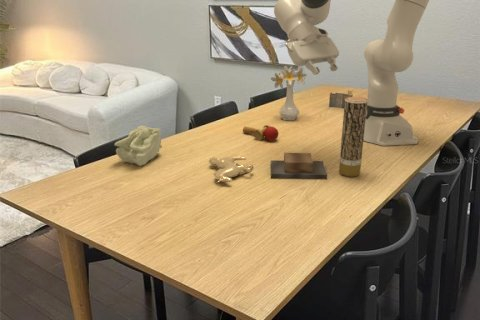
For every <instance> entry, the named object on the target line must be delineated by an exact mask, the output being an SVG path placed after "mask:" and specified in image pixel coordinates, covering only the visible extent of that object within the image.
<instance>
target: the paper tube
mask: <svg viewBox="0 0 480 320" xmlns="http://www.w3.org/2000/svg"><path fill="white" fill-rule="evenodd" d="M367 100H368V98H366V97H360V96H353V97H347V98H345V104H344V108H343V117H342V118H343V119H342V131H341V141H340V153H339V169H338V172H339V173H340V175H342V176H345V177H357V176H359V175H360V174H361V166H362V158H363V151H364V150H363V149H364V130H365V121H366V111H367Z"/></svg>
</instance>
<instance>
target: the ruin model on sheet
mask: <svg viewBox="0 0 480 320" xmlns="http://www.w3.org/2000/svg"><path fill="white" fill-rule="evenodd" d="M353 95H354V94H353V90H347V93H341V92H335V93H333V92H330V93H329V102H328V103H329V104H328V107H329V108H338V109H344V104H345V98H347V97H354V96H353Z"/></svg>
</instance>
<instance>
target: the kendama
mask: <svg viewBox="0 0 480 320" xmlns="http://www.w3.org/2000/svg"><path fill="white" fill-rule="evenodd" d="M242 133H243V134H252V135H253V136H254V138H255V139H256V140H257V141H262V140H263V139H265V140H266V141H268V142H274V141H276V140H277V139H278V137H279V130H278V129H277V128H276V127H275V126H270V124H265V125H264V126H263V127H262V129H260V128H253V127H249V126H244V127H243V128H242Z"/></svg>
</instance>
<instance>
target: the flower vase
mask: <svg viewBox="0 0 480 320" xmlns="http://www.w3.org/2000/svg"><path fill="white" fill-rule="evenodd" d="M274 76H275V77H274ZM274 76H273V77H270V79H271V81H272V82H275V83H274V88H275V89H277V88H280V89H283V88H284V85H283V82H284V81H285V83H286V98H285V102H284V104H283V106H282V107H281V108H280V109H279V115H280V116H281V117H282V120H283V121H295V120H296V117H298V115H299V114H300V111H299V108H298V107H297V106H296V104H295V101H294V85H295V83H296V82H297V84H298V85H300V83H301V84H302V85H303V86H304V85H305V83H306V81H305V80H306V78H307V76H308V75H307V73H303V68H302V66H297V70H296V69H295V68H293V65H292V66H290V67H289V68H288V66H287V65H284V66H283V70H280V72H279V73H277V72H275V73H274Z"/></svg>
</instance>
